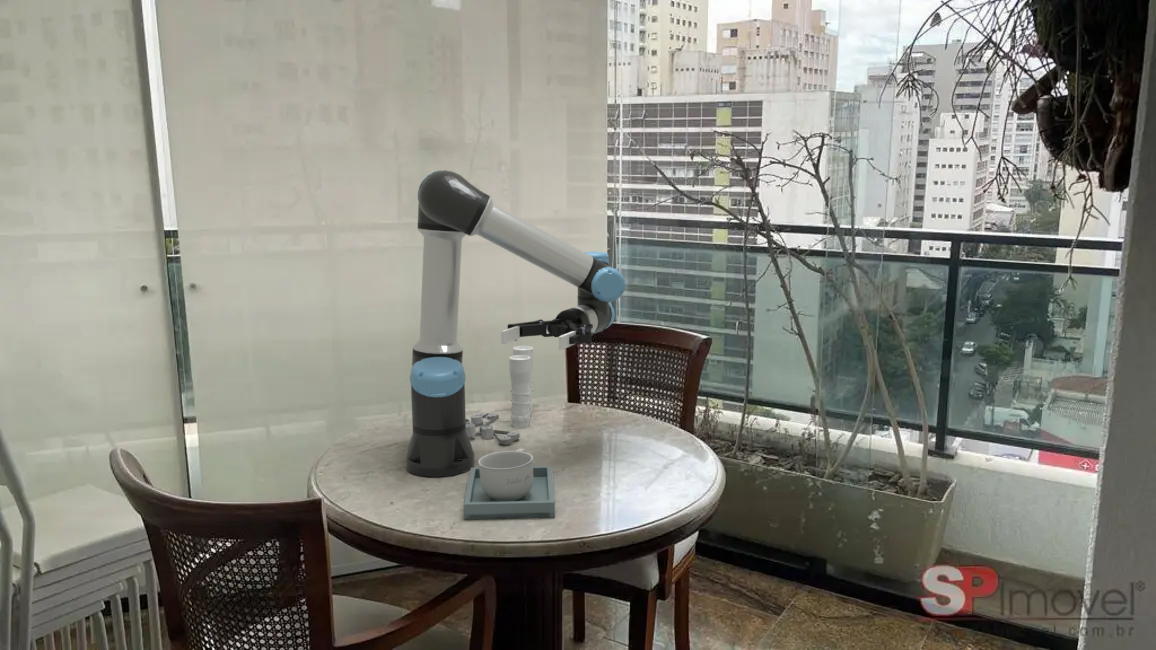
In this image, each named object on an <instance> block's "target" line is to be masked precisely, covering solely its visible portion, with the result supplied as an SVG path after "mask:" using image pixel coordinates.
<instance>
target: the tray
mask: <svg viewBox="0 0 1156 650" xmlns="http://www.w3.org/2000/svg"><path fill="white" fill-rule="evenodd" d="M552 468H553V467H552V465H533V486H532V488H531V490H530V491H529V492H528V493H526V495H525V496H524V497H522V498H521V499H518V500H515V501H506V502H500V501H496V500H493V499H492V498H491V497H489V496H488V495H486V494H485V493H484V491H483V489H482V486H481V480H480V470H479V466H477V467H474V466H473V467H472V468H471V469H470V471H469V477H468V481H467V486H466V492H465V498H464V502H463V503H464V504H463V514H464V518H463V519H464V520H467V521H468V520H499V519H500V520H501V519H502V520H505V519H506V518H509V519H534V518H535V519H536V518H537V519H539V518H540V519H541V518H542V519H543V518H547V519H548V518H549V519H550V518H555V516H556V515H555V513H556V511H555V510H556V509H555V505H556V503H555V490H554V479H553V469H552Z"/></svg>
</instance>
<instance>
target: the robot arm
mask: <svg viewBox="0 0 1156 650" xmlns="http://www.w3.org/2000/svg"><path fill="white" fill-rule="evenodd" d="M417 202H418V206H417V209H418V210H417V230H418V232H419V233H420V234H421V235H422V237H423V249H422V251H423V253H422V270H421V271H422V272H421V273H422V275H421V277H422V278H421V298H420V300H421V301H420V319H419V320H420V321H419V322H420V326H419V340H418V341H417V342H416V343H414V344H413V345H412V353H411V354H412V357H411V359H412V360H411V369H410V375H409V384H410V393H411V395H410V396H411V420H412V421H411V423H412V435H411V437H410V438H411V439H410V441H409V444H408V445H409V446H408V448H407V452H406V455H405V468H406V470H407V472H409V473H411V474H413V475H417V476H421V477H429V478H431V477H433V478H434V477H435V478H436V477H437V478H438V477H441V478H442V477H449V476H451V477H452V476H455V475H458V474H459V475H460V474H463V473H465V472H467V471H469V470H471V468H472V467H474V466H475V464H476V463H475V461H476V460H475V451H474V449H473V446H472V444H471V441H470V437H468V435H467V432H466V419H467V417H466V384H465V382H466V374H465V367H464V365H463V354H464V353H463V352H464V348H463V347H462V345H461V344H460V343H459V342H458V324H459V323H458V322H459V320H458V319H459V303H460V297H459V296H460V280H461V264H462V263H461V261H462V259H461V258H462V242H463V238H465V236H469V237H473V236H479V237H481V238H483V239H485V240H486V241H489V242H491V243H492V244H494V245H496V246H498V247H500V248H503V249H504V250H505V251H508V252H509V253H511V254H514V255H515V256H517V257H519V258H521V259H523V260H525V261H527V262H529V263H531V264H532V265H535V266H537V267H538V268H540V269H543V270H544V271H546V272H548V273H550V274H552V275H553V276H556V277H557V278H559V279H561V280H563V281H565V282H567V283H569V284H571V285H573V286H575V287H576V288H577V305H575V306H573V307H570V308H568V309H564V310H562V311H560V312H559V313H558V314H557V315H556V317H555V318H553V319H551V320H543V319H538V320H537V319H536V320H533V321H532V320H531V321H525V322H518V323H509V324H507V328H506V329H504V330H501V331H500V337H501V338H500V339H501V340H500V342H501V344H502V345H505V344H508V343H510V342H511V343H512V342H514V341H515V342H517V341H518V340H520V338H525V337H537V336H541V337H544V338H550V337H552V338H553V337H555V338H558V350H560V351H562V350H565V349H567V348H570V347H573V346H575V345H576V344H578V345H581V344H583V342H585V344H587V345H590V344H592V337H593V336H594V334H597V333H600V332H603V331H604V330H606V329H607V328H609V327H610V326H611V325H612V324H613V323H614V320H615V318H616V317H615V316H616V314H615V313H616V312H615V309H614V307H613V305H612V303H611V302H615V301H617V300H619V299H620V298H621V297H622V296H623V294H624V292H625V290H626V280H625V277H624V275H623V274H622V273H621V272H620V271H619V270H618V269H617V268H616V267H612V266H610V265H611V263H610V257H609V254H608V253H607V252H605V251H604V252H603V251H582V250H580V249H578V248H577V247H575V246H573V245H571V244H570V243H568V242H566V241H564V240H562V239H560V238H558V237H557V236H554V235H553V234H551V233H549V232H547V231H545V230H543V229H542V228H540V227H538V226H536V225H534V224H532V223H531V222H529V221H527V220H526V219H523V218H521V217H519V216H517V215H516V214H514V213H512V212H510V211H508V210H507V209H505V208H503V207H501V206H500V205H497V203H494V201H493V199H492V196H491V195H489V194H487V193H485V192H483V191H482V190H480V189H479V188H477V187H476V186H475V185H473V184H472V183H471V182H469V181H468V180H467V179H466V178H464V177H463V176H462V175H461V174H460V173H459V174H458V173H457V172H454V171H451V170H447V169H446V170H443V169H442V170H441V169H440V170H437V171H433V172H431V173H429V174H428V175H426V177H424V179H423V180H422V181H421V183H420V185H419V186H418V190H417ZM547 332H548V333H547Z"/></svg>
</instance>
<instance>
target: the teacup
mask: <svg viewBox="0 0 1156 650" xmlns="http://www.w3.org/2000/svg"><path fill="white" fill-rule="evenodd" d="M533 461H534V456H533V455H532V454H531V453H529V452H527V450H526V449H524V448H517V449H516V450H499V451H495V452H491V453H488V454H486V455H483V456H482V457H480V458H479V459H478V463H477V464H478V467H479V470H480V480H481V486H482V489H483V491H484V493H485V494H486V495H488V496H489V497H491V498H492V499H493V500H496V501H500V502H506V501H515V500H518V499H521V498H522V497H524V496H525V495H526V493H528V492H529V491H530V490H531V488H532V486H533V466H534V464H533V463H534V462H533Z"/></svg>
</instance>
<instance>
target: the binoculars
mask: <svg viewBox="0 0 1156 650" xmlns="http://www.w3.org/2000/svg"><path fill="white" fill-rule="evenodd" d="M512 353H513V355H512V356H509V357H508V358H509V360H508V361H509V375H510V376H509V377H510V381H511V383H510V384H511V390H510V393H511V400H510V402H511V414H510V415H511V416H510V420H511V426H512V428H516V429H524V428H529V427H530V426H529V425H530V423H531V422H530V421H531V414H532V413H533V407H534V402H533V391H534V390H533V379H532V378H533V374H532V373H533V372H532V371H533V363H534V347H533V346H530V345H518V346H514V347H513V348H512ZM528 426H529V427H528Z"/></svg>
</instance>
